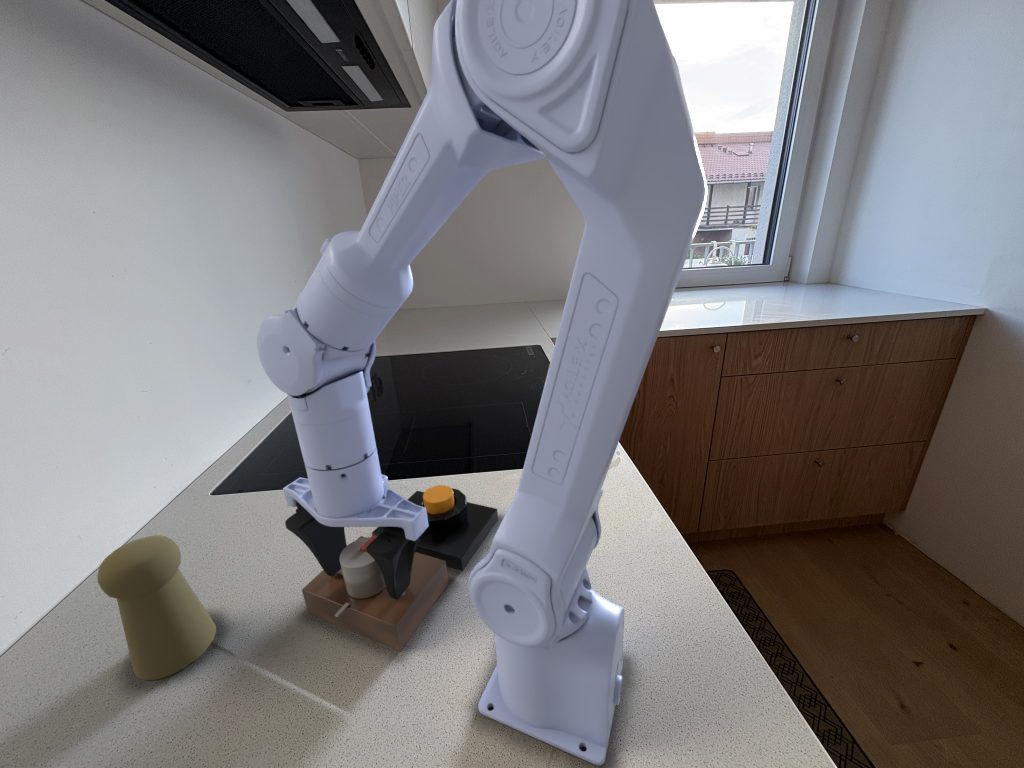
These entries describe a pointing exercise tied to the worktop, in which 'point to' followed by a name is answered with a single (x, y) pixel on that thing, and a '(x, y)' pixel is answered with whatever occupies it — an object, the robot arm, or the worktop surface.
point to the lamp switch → (454, 530)
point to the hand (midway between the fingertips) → (368, 579)
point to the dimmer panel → (379, 603)
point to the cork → (156, 607)
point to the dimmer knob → (361, 570)
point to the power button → (438, 499)
